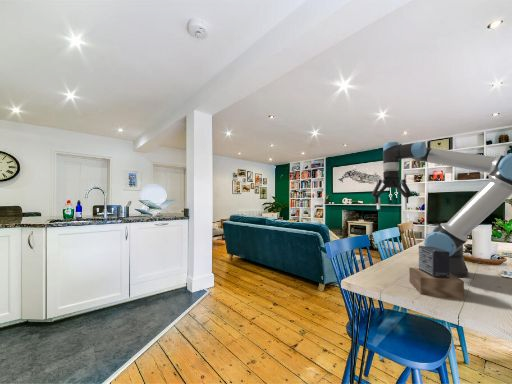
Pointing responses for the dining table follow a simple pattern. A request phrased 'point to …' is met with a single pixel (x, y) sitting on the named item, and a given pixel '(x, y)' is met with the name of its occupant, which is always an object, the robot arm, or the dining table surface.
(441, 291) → the walnut block
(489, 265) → the dining table surface
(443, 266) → the small box
